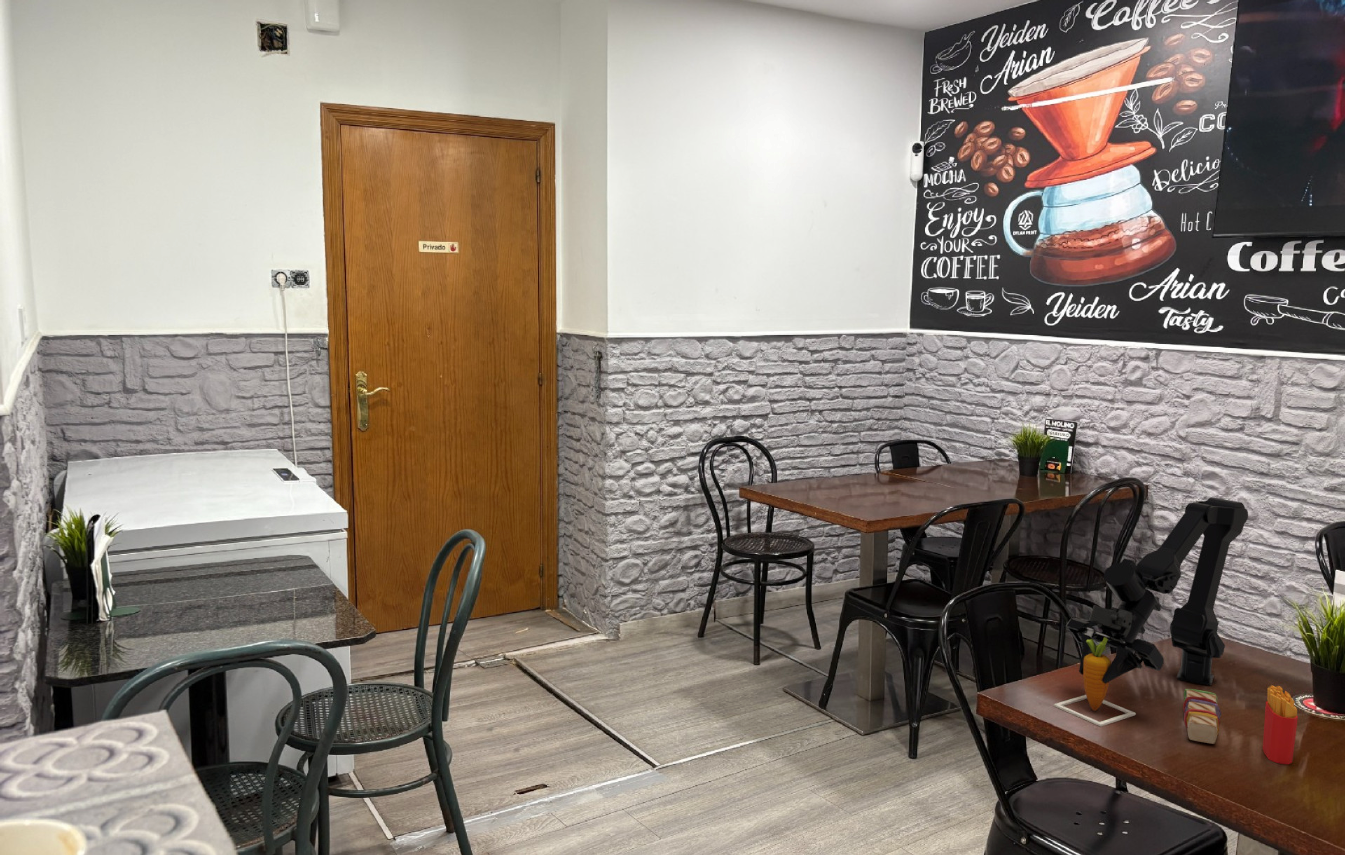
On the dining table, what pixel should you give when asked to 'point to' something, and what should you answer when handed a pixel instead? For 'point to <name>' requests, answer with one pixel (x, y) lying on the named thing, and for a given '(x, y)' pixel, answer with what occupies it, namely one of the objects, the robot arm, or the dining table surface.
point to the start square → (1102, 723)
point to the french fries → (1279, 726)
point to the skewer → (1201, 715)
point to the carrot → (1095, 673)
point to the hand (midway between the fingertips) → (1091, 677)
